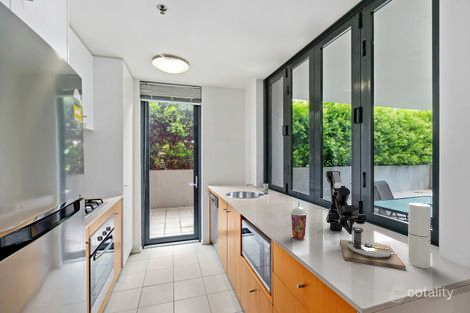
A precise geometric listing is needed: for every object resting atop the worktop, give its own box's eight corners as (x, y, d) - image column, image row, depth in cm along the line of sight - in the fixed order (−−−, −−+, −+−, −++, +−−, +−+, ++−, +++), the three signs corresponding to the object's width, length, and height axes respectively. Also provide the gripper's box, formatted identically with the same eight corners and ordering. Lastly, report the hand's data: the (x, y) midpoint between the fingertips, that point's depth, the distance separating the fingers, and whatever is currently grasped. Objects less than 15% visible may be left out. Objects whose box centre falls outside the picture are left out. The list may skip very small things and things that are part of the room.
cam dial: (371, 260, 91) (371, 236, 91) (339, 245, 107) (339, 224, 107) (400, 255, 97) (400, 231, 97) (365, 241, 113) (365, 221, 113)
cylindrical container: (403, 260, 96) (404, 202, 96) (419, 259, 97) (419, 202, 97) (418, 268, 89) (419, 206, 89) (435, 267, 90) (435, 206, 90)
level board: (344, 259, 96) (344, 256, 96) (340, 242, 116) (340, 238, 116) (406, 269, 88) (406, 265, 88) (390, 248, 108) (390, 245, 108)
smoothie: (306, 236, 125) (306, 200, 125) (306, 241, 117) (306, 203, 117) (291, 234, 127) (291, 199, 127) (290, 239, 120) (290, 202, 120)
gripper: (327, 197, 114) (335, 225, 103) (365, 198, 112) (377, 227, 101) (323, 209, 122) (329, 236, 111) (358, 210, 120) (368, 237, 109)
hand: (350, 234), depth 108 cm, fingers closed
